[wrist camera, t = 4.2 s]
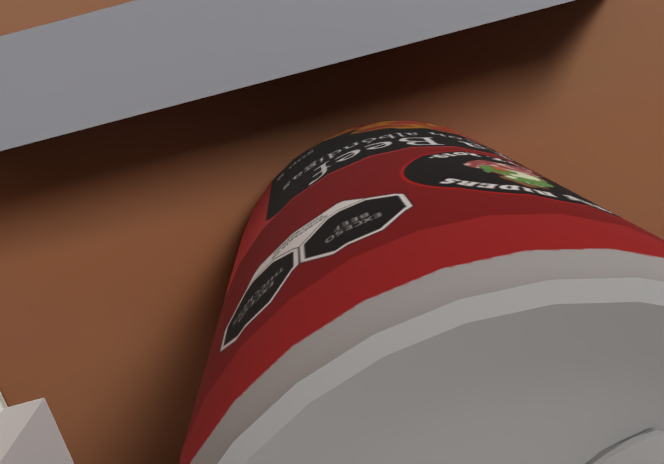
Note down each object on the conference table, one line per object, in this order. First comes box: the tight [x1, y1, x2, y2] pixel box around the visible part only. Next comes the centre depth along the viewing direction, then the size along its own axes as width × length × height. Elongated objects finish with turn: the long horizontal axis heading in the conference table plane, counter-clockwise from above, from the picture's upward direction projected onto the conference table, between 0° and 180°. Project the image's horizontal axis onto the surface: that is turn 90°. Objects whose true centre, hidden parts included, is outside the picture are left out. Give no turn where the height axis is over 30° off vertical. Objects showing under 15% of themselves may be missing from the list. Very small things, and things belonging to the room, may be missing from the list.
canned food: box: [179, 121, 664, 464], centre depth 11 cm, size 8×8×11 cm
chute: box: [0, 0, 574, 413], centre depth 15 cm, size 15×28×3 cm, turn 104°
